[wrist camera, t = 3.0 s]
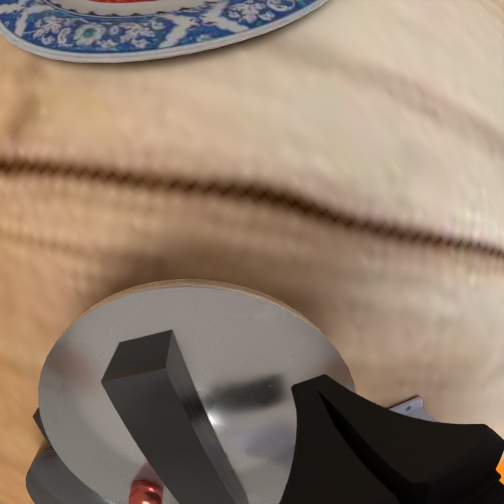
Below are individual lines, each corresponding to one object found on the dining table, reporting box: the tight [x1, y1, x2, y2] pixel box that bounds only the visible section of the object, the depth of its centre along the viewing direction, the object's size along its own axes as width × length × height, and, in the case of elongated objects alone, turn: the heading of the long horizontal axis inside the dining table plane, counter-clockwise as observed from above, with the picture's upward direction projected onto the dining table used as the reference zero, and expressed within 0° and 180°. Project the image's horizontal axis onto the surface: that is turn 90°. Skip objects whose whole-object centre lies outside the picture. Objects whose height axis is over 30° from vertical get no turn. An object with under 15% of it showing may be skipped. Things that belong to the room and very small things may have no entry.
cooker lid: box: [38, 279, 356, 504], centre depth 11 cm, size 16×14×4 cm
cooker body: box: [26, 407, 115, 504], centre depth 17 cm, size 16×18×5 cm
